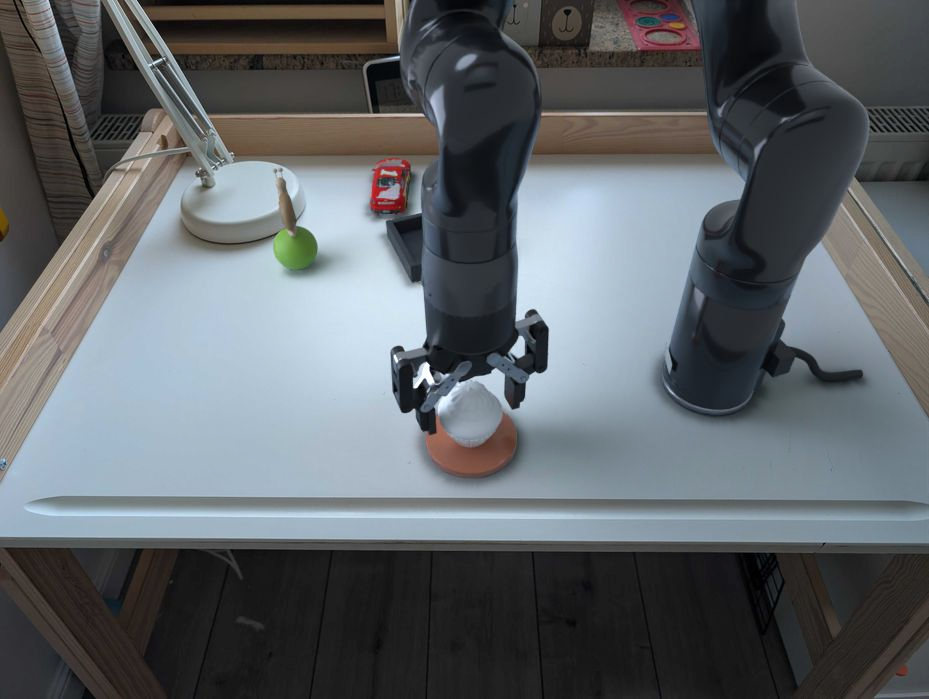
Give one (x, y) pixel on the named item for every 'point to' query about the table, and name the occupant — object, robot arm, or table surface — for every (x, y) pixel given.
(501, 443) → the plate
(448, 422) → the muffin
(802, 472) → the table surface
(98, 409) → the table surface
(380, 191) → the race car
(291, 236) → the snail figurine
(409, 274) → the tray
